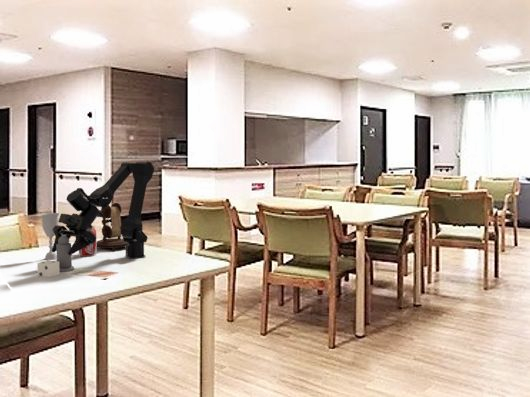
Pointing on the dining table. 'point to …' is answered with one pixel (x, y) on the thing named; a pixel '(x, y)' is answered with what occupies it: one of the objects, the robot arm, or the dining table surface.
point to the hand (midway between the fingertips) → (60, 253)
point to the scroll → (115, 231)
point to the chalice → (50, 231)
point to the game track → (86, 272)
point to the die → (48, 268)
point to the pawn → (64, 254)
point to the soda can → (89, 247)
